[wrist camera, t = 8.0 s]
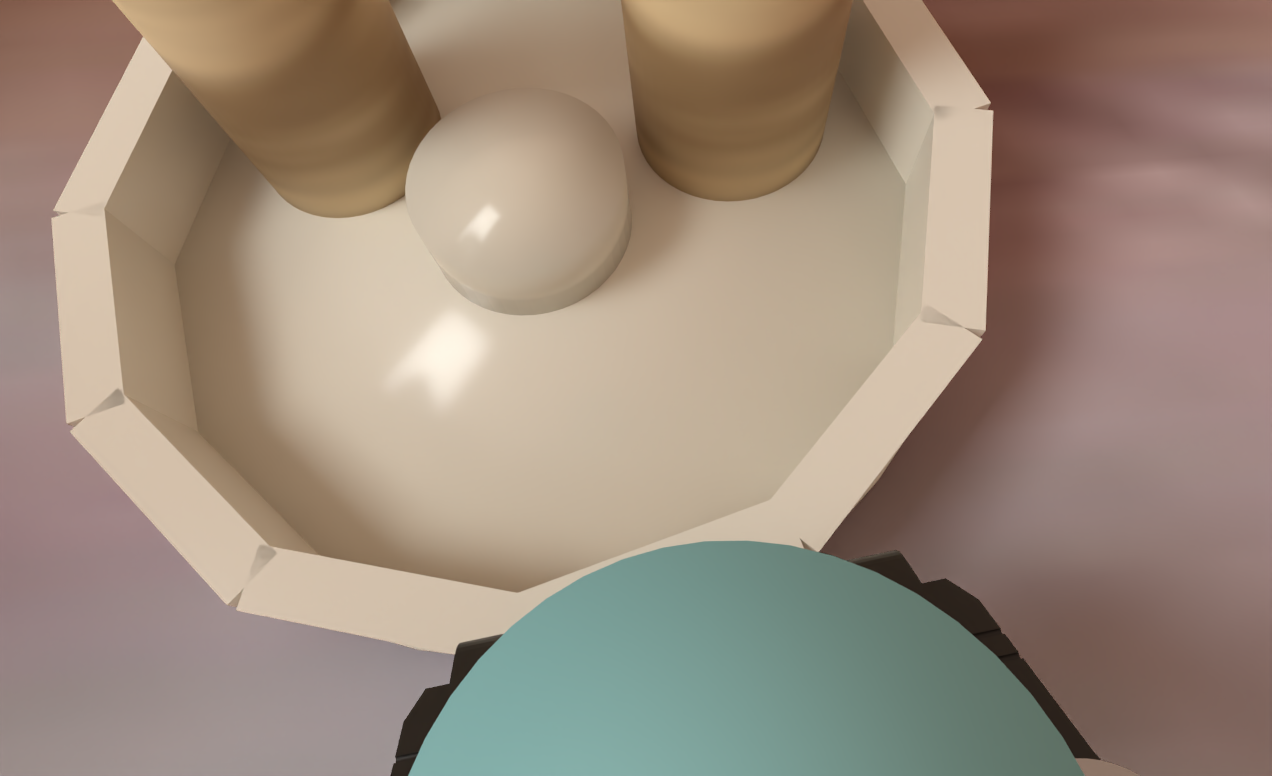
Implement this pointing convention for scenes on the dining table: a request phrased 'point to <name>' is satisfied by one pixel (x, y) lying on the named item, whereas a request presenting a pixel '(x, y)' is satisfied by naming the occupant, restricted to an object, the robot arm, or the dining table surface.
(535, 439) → the ring dish
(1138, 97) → the dining table surface
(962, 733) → the teal rounded cylinder
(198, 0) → the tan rounded cylinder
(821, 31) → the ribbed wooden peg
